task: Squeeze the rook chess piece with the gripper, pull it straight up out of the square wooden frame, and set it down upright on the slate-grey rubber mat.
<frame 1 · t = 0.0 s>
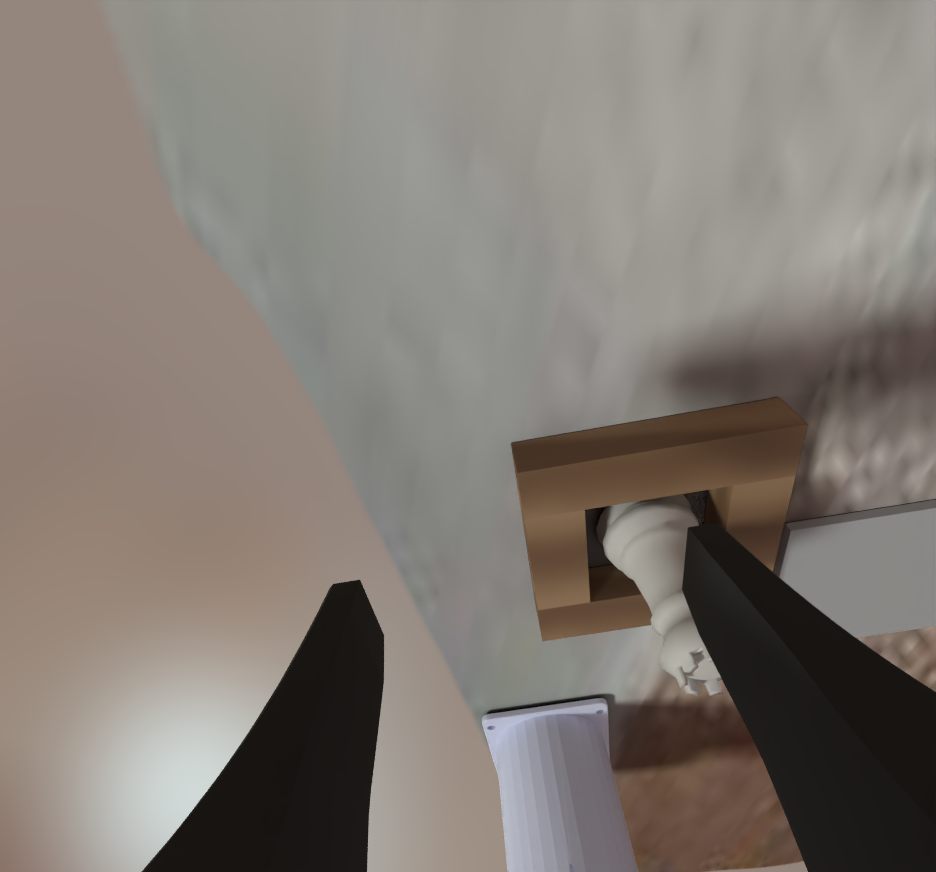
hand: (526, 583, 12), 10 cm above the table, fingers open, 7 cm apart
rook chess piece: (639, 513, 25), resting in square wooden frame
square wooden frame: (641, 517, 25), on the table
slate mat: (864, 575, 28), on the table
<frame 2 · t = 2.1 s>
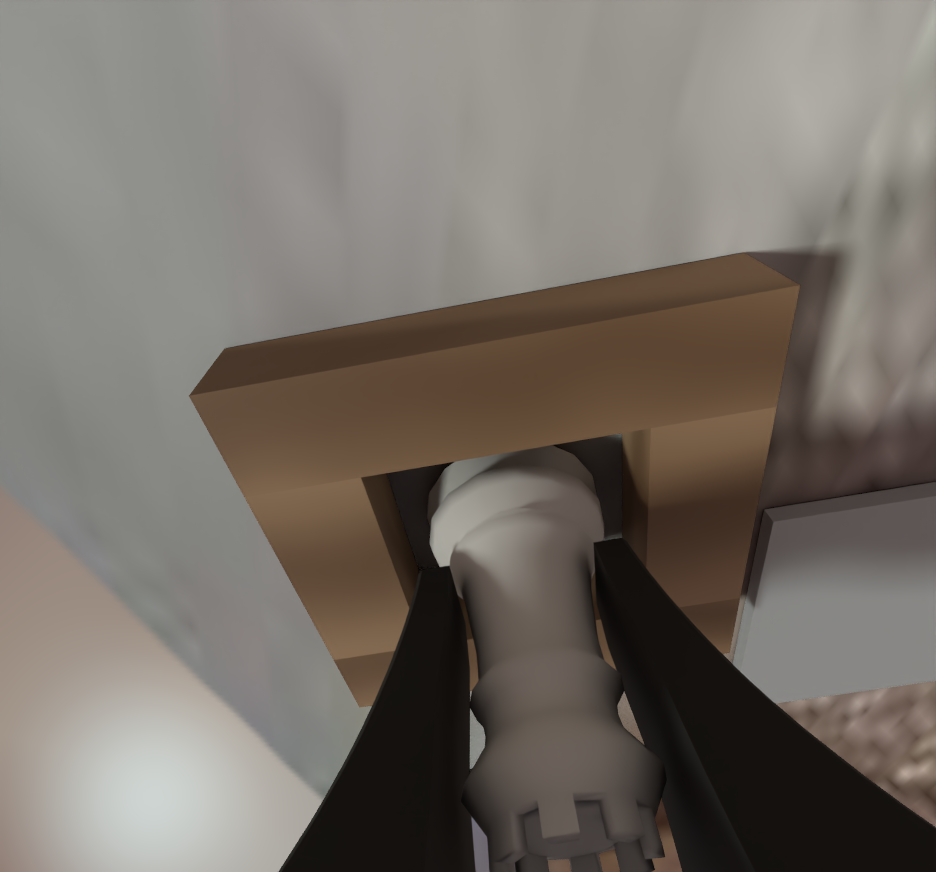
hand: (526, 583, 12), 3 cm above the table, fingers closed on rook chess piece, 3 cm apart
rook chess piece: (509, 492, 14), resting in square wooden frame, touching gripper
square wooden frame: (510, 497, 14), on the table
slate mat: (894, 595, 18), on the table
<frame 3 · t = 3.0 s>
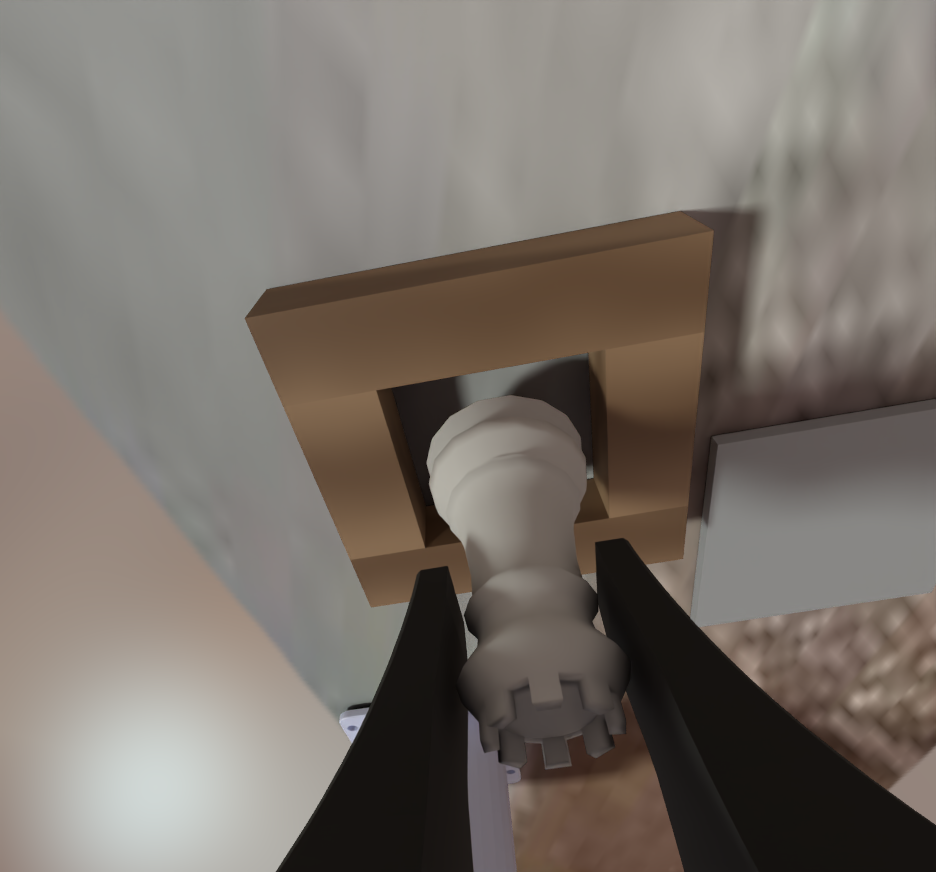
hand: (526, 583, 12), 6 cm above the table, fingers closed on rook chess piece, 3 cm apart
rook chess piece: (502, 447, 16), point 2 cm above the table, touching gripper
square wooden frame: (497, 423, 17), on the table
slate mat: (830, 519, 20), on the table
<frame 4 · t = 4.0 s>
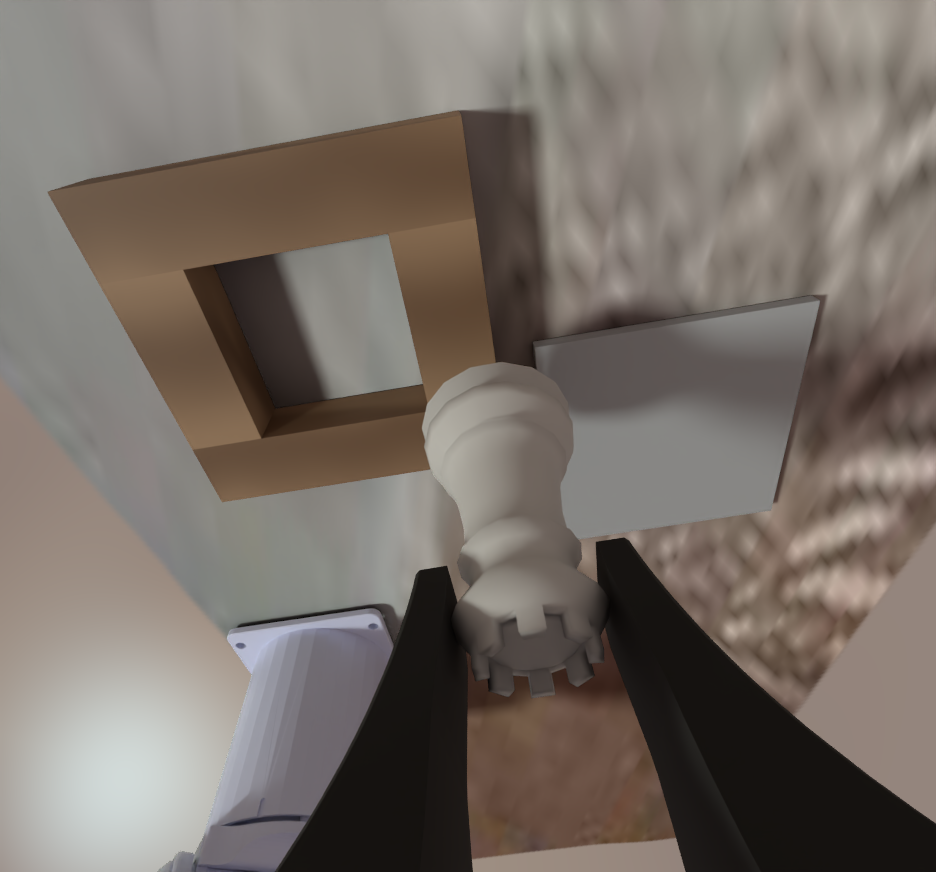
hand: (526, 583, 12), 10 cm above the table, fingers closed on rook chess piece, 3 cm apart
rook chess piece: (494, 413, 16), point 4 cm above the table, touching gripper
square wooden frame: (328, 322, 18), on the table
slate mat: (662, 432, 22), on the table
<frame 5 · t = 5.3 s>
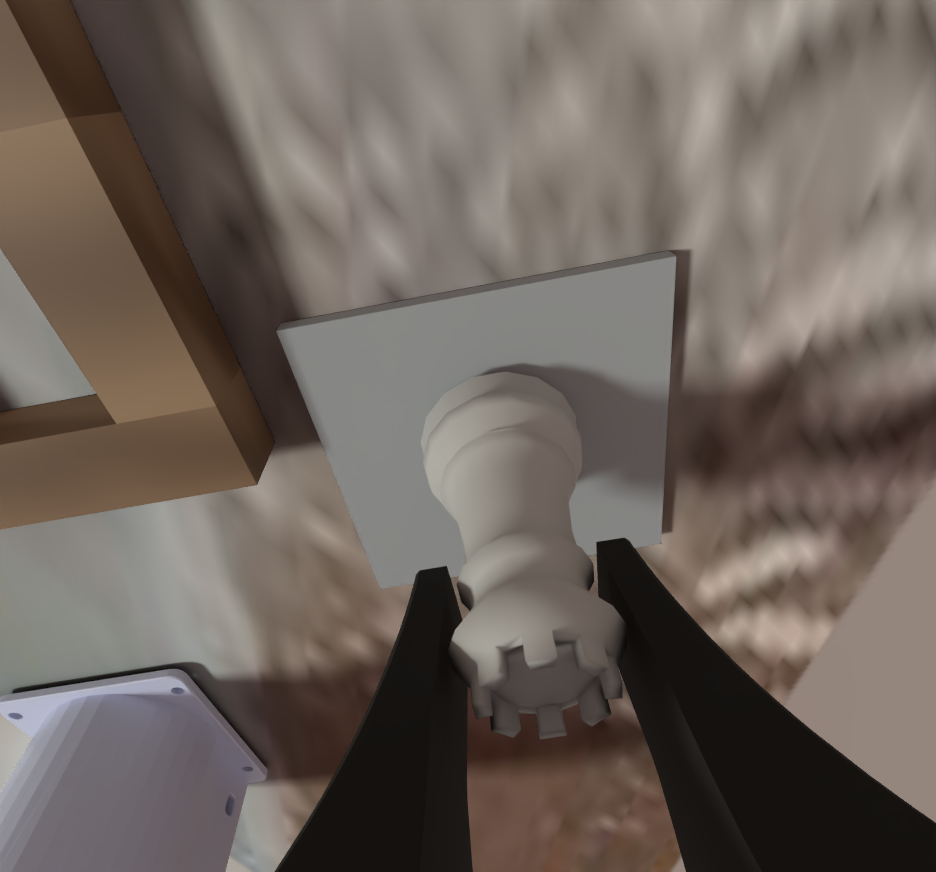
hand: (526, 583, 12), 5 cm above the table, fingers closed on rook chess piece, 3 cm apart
rook chess piece: (497, 428, 16), resting on slate mat, touching gripper
slate mat: (498, 444, 16), on the table
when the fingers open (5 cm above the table, at t = 5.8 s): rook chess piece stays where it is, resting on slate mat.
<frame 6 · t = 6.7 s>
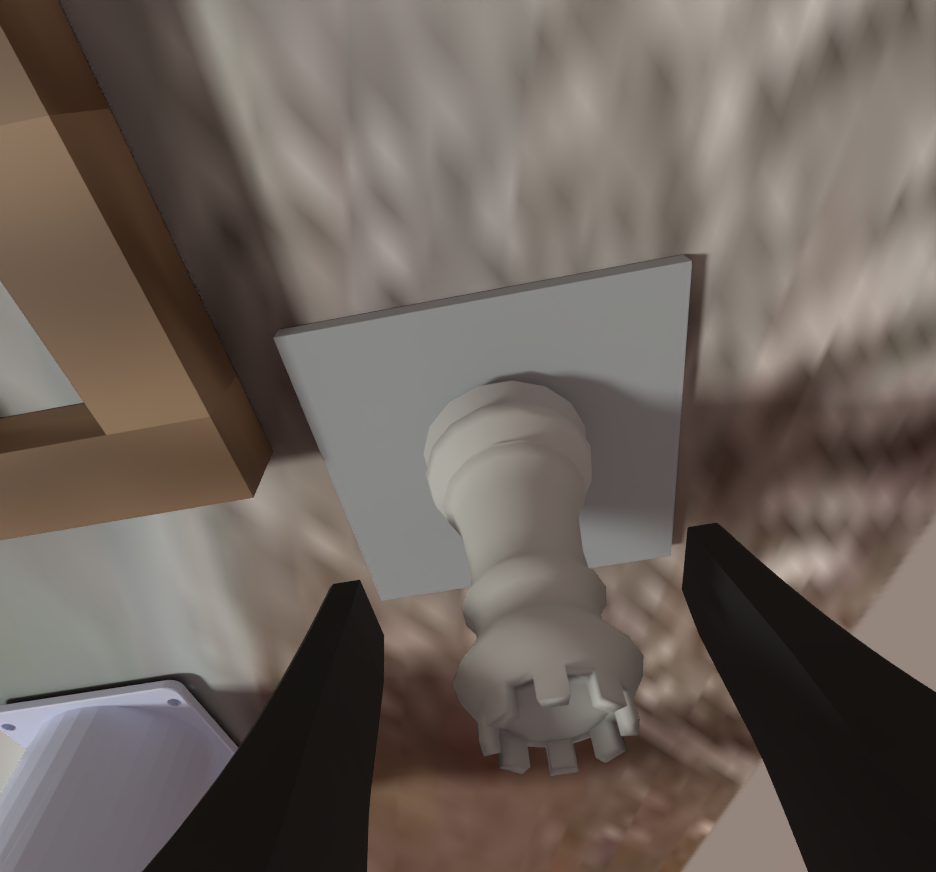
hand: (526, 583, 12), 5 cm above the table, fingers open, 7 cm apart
rook chess piece: (502, 438, 15), resting on slate mat
slate mat: (503, 454, 16), on the table
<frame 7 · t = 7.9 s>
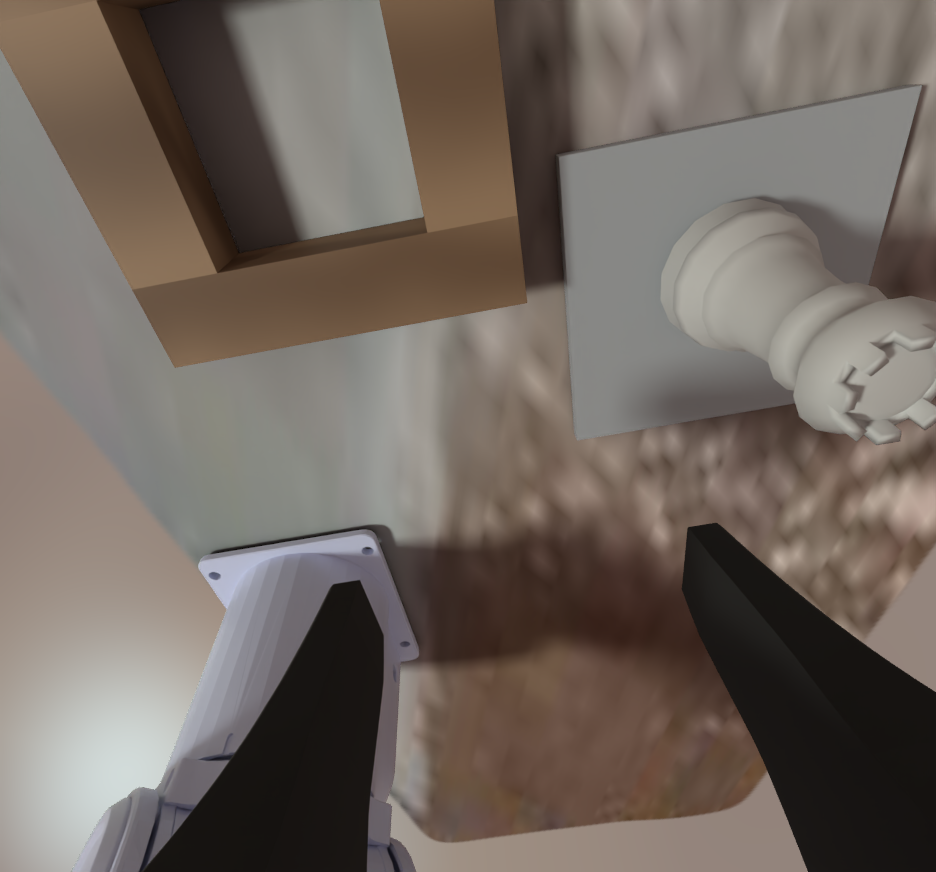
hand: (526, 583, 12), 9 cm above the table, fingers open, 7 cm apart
rook chess piece: (720, 267, 17), resting on slate mat
square wooden frame: (298, 123, 15), on the table
slate mat: (712, 288, 18), on the table
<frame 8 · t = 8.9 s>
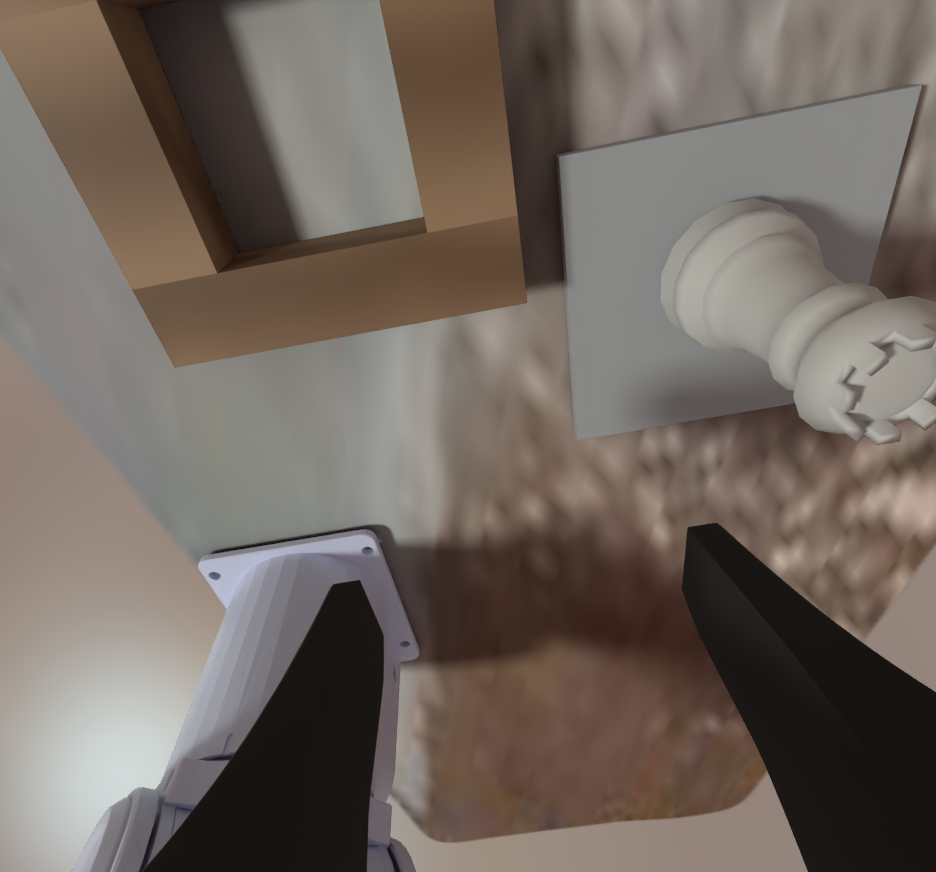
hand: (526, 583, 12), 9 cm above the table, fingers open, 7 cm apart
rook chess piece: (720, 267, 17), resting on slate mat
square wooden frame: (298, 123, 15), on the table
slate mat: (712, 288, 18), on the table
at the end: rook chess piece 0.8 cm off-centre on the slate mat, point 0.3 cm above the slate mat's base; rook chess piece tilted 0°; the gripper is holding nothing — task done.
